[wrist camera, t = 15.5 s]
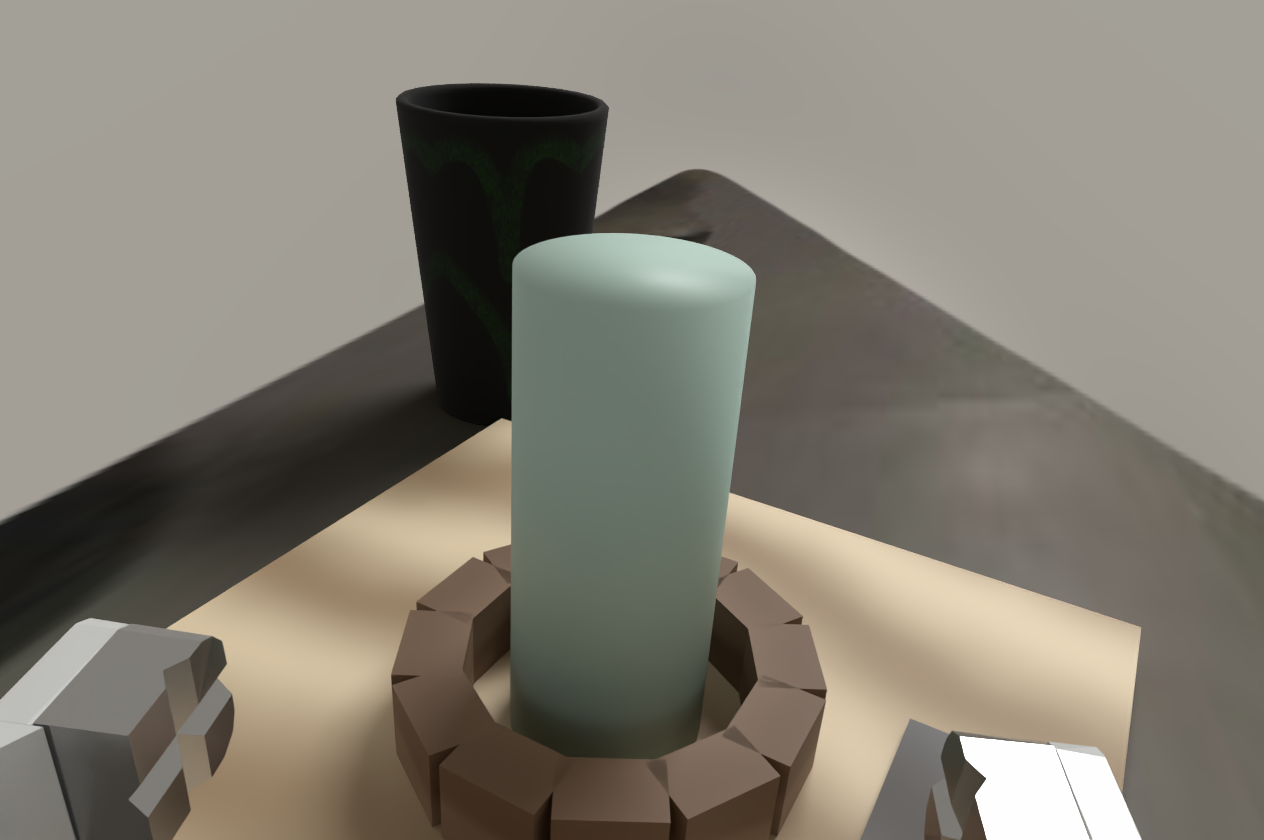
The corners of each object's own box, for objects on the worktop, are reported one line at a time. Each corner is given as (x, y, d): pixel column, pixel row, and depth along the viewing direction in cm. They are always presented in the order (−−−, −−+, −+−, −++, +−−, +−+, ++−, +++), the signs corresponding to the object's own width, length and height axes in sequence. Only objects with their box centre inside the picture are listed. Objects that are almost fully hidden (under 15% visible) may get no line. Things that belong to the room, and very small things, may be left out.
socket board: (975, 1852, 10) (1055, 1777, 9) (-154, 882, 19) (-208, 765, 18) (1128, 660, 28) (1163, 569, 26) (501, 446, 36) (501, 369, 35)
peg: (700, 797, 21) (763, 321, 16) (493, 778, 21) (490, 300, 16) (699, 657, 25) (750, 242, 20) (526, 642, 25) (532, 226, 20)
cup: (372, 397, 40) (350, 94, 34) (500, 345, 45) (499, 77, 40) (510, 459, 36) (509, 128, 30) (632, 394, 41) (650, 104, 36)
